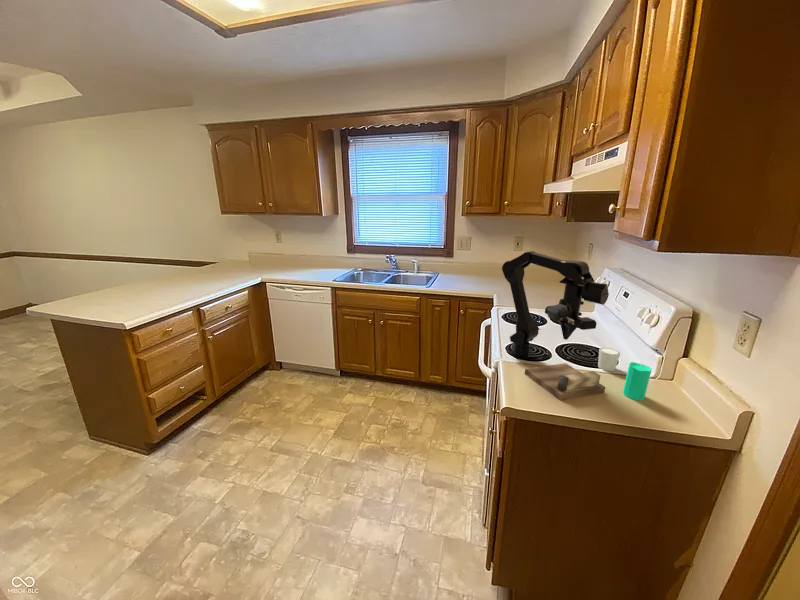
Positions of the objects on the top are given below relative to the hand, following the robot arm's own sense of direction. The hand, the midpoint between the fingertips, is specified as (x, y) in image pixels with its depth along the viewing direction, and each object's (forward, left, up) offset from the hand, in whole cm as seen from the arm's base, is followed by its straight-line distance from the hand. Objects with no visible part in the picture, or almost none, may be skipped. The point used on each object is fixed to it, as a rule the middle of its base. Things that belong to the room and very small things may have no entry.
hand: (565, 339), depth 126 cm
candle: (+20, +12, -13) cm, 27 cm away
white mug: (+2, +20, -13) cm, 24 cm away
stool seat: (+7, -5, -13) cm, 16 cm away
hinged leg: (+14, -5, -10) cm, 18 cm away
